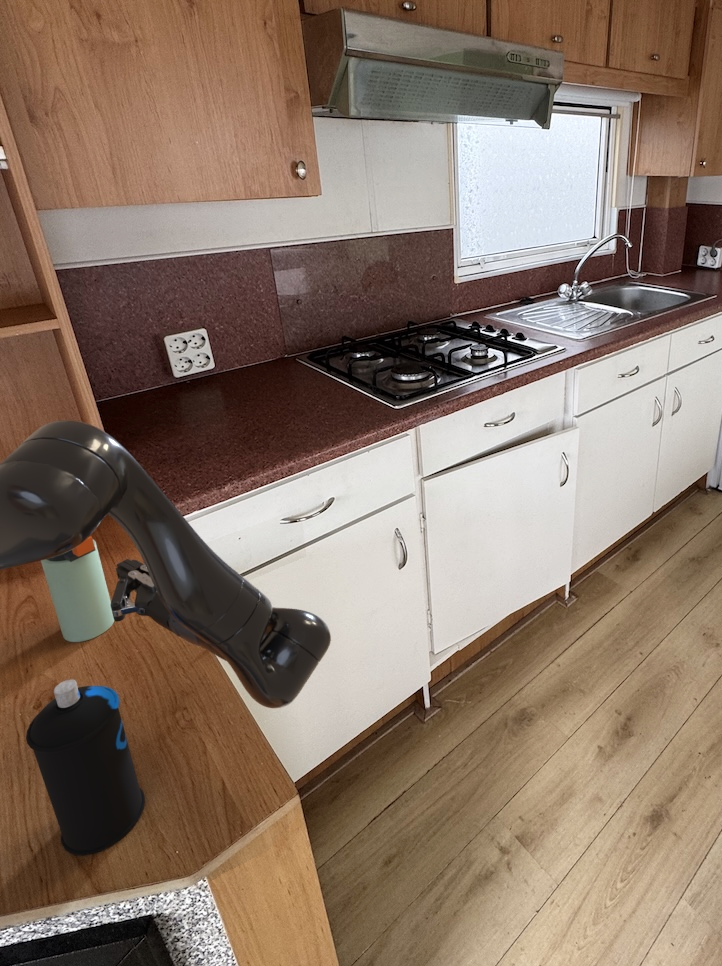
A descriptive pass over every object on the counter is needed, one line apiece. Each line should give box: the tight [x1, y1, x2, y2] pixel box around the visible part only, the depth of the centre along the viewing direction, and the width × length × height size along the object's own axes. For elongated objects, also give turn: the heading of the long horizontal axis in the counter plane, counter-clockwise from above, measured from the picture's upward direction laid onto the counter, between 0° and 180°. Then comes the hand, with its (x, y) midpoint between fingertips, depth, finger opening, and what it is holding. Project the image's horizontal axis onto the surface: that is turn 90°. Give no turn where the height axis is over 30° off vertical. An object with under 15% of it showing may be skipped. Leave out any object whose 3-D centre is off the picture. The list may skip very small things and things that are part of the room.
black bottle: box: [25, 679, 146, 856], centre depth 64 cm, size 8×8×20 cm
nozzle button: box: [72, 535, 95, 557], centre depth 88 cm, size 2×2×2 cm
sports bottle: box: [40, 539, 115, 643], centre depth 93 cm, size 8×7×22 cm
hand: (122, 567), depth 83 cm, fingers closed
